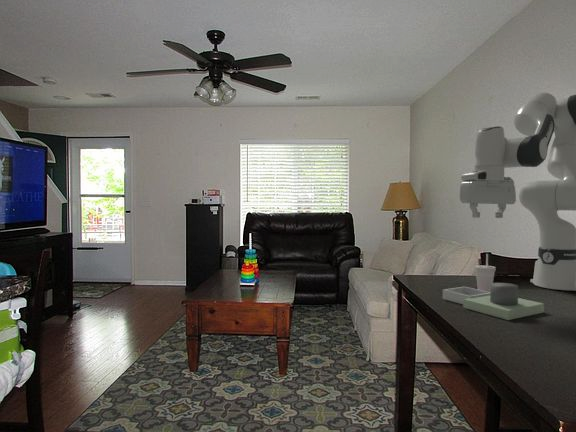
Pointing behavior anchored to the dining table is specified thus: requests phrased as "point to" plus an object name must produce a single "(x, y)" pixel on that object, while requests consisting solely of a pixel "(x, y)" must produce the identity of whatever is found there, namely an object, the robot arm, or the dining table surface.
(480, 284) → the smoothie
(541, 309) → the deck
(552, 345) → the dining table surface
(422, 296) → the dining table surface
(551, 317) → the dining table surface
